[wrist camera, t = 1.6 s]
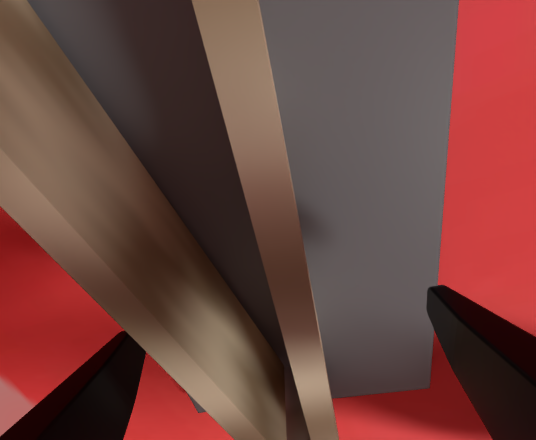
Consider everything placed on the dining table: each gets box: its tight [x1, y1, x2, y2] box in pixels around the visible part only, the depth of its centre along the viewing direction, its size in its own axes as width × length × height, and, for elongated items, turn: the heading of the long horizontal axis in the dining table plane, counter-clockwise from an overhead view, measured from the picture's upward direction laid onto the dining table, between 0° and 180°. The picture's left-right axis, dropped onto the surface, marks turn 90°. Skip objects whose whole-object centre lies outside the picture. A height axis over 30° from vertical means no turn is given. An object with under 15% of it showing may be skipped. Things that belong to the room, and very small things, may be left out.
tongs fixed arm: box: [192, 0, 339, 440], centre depth 9 cm, size 20×3×4 cm, turn 12°
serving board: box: [27, 0, 459, 413], centre depth 12 cm, size 22×13×1 cm, turn 12°
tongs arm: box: [0, 0, 287, 440], centre depth 9 cm, size 17×1×4 cm, turn 26°
